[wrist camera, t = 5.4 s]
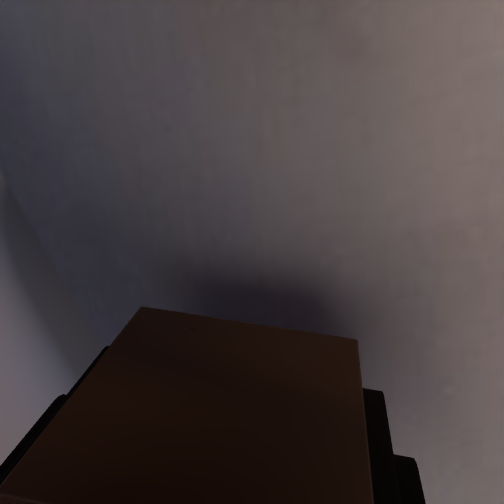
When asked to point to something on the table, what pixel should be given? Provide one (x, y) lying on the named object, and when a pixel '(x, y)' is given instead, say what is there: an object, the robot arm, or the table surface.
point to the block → (206, 420)
